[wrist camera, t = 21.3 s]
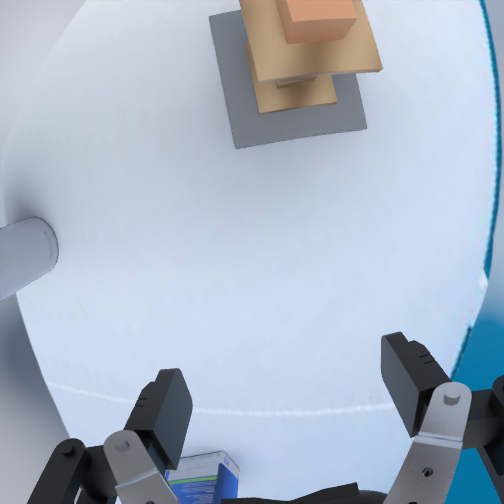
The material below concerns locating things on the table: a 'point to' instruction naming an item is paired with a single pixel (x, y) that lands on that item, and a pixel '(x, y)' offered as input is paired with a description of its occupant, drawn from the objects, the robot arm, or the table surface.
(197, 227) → the table surface
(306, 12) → the cube
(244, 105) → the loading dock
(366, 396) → the table surface
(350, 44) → the wooden pedestal
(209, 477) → the string lights box
